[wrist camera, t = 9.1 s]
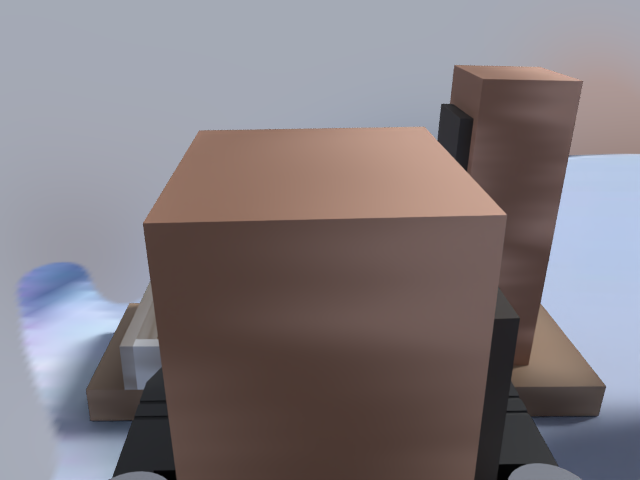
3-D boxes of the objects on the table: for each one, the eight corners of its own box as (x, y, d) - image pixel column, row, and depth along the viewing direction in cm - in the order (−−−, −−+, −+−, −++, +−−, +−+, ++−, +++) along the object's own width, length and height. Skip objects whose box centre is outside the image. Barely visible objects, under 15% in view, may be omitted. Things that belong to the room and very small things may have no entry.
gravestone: (535, 328, 32) (586, 64, 26) (598, 415, 25) (682, 89, 20) (132, 329, 31) (101, 53, 25) (90, 420, 24) (38, 76, 19)
